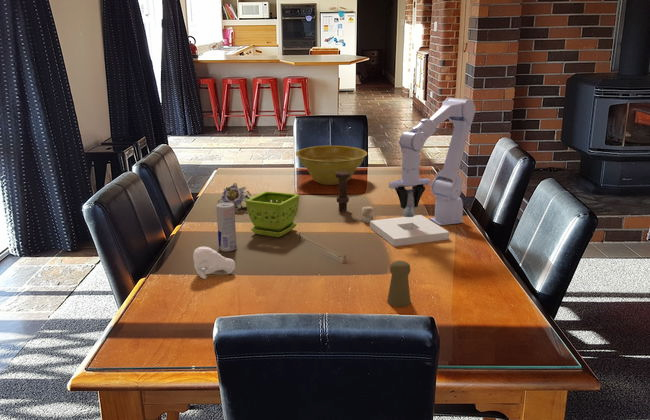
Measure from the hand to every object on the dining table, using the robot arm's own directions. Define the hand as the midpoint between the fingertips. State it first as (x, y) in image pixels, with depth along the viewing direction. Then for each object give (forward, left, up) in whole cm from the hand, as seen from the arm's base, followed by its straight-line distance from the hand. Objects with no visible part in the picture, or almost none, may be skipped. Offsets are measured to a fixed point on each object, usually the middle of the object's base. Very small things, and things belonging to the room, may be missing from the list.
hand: (409, 207), depth 203 cm
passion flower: (+50, -50, -10) cm, 71 cm away
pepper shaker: (+26, +47, -10) cm, 55 cm away
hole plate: (0, 0, -9) cm, 9 cm away
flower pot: (+43, -17, -10) cm, 47 cm away
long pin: (0, 0, -3) cm, 3 cm away
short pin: (+8, -17, -9) cm, 21 cm away
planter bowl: (+1, -76, -10) cm, 77 cm away
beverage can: (+61, -6, -10) cm, 62 cm away
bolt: (+12, -32, -10) cm, 35 cm away
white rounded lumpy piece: (+68, +13, -10) cm, 70 cm away
